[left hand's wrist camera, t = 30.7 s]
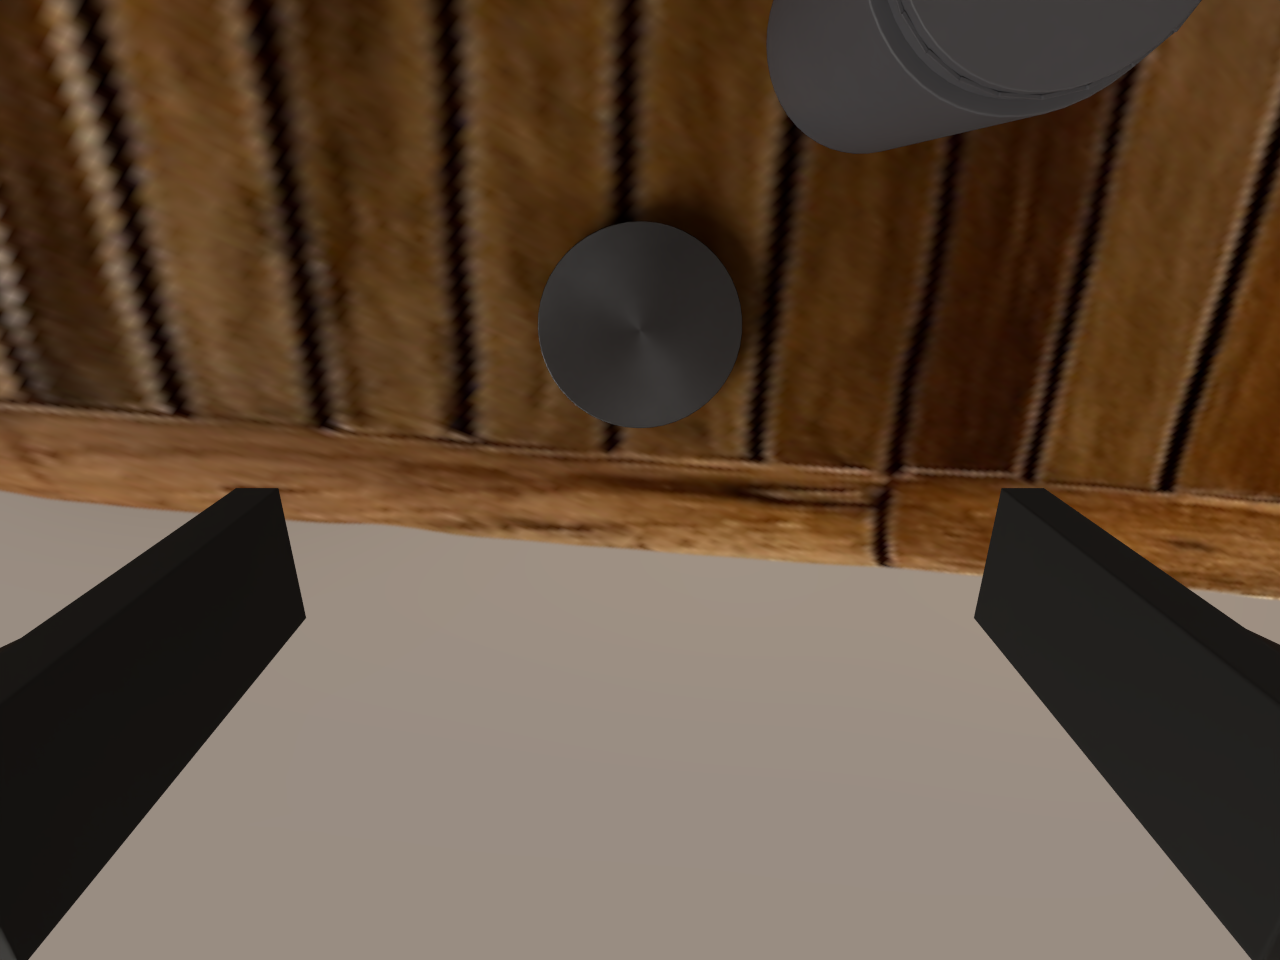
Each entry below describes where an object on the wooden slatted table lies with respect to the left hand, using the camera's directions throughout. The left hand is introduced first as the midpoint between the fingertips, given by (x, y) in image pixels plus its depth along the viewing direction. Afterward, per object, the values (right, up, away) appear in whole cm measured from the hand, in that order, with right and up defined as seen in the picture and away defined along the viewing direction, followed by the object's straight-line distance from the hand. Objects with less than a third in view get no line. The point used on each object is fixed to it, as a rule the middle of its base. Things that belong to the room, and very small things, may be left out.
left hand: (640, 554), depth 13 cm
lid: (0, +10, +24) cm, 26 cm away
